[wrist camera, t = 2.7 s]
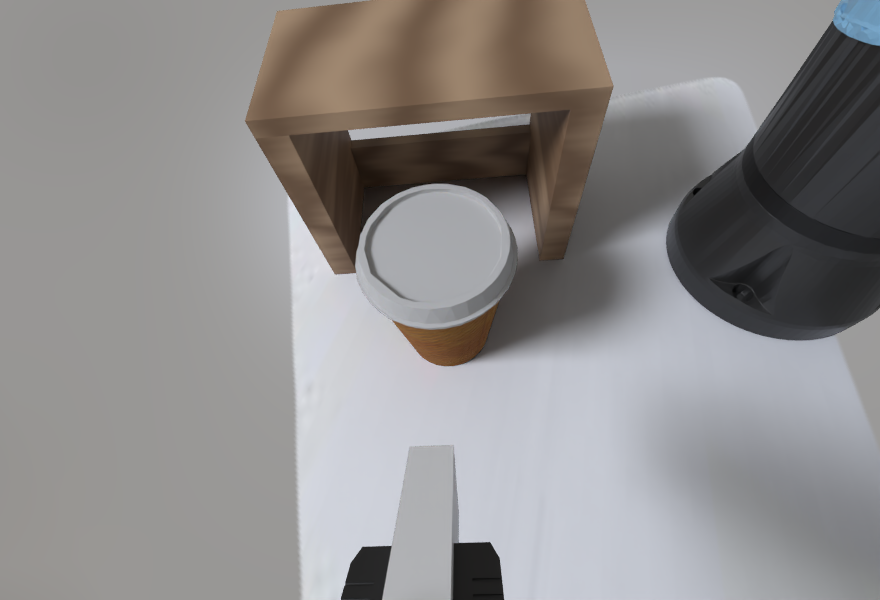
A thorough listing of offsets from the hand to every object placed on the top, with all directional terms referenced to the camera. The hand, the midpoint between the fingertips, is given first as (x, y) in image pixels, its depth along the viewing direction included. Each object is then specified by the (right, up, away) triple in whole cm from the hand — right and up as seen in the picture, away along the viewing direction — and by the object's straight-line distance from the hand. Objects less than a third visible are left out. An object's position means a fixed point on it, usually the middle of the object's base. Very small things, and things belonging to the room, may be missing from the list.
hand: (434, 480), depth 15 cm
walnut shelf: (+1, +14, +25) cm, 29 cm away
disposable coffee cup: (+1, +4, +20) cm, 20 cm away
